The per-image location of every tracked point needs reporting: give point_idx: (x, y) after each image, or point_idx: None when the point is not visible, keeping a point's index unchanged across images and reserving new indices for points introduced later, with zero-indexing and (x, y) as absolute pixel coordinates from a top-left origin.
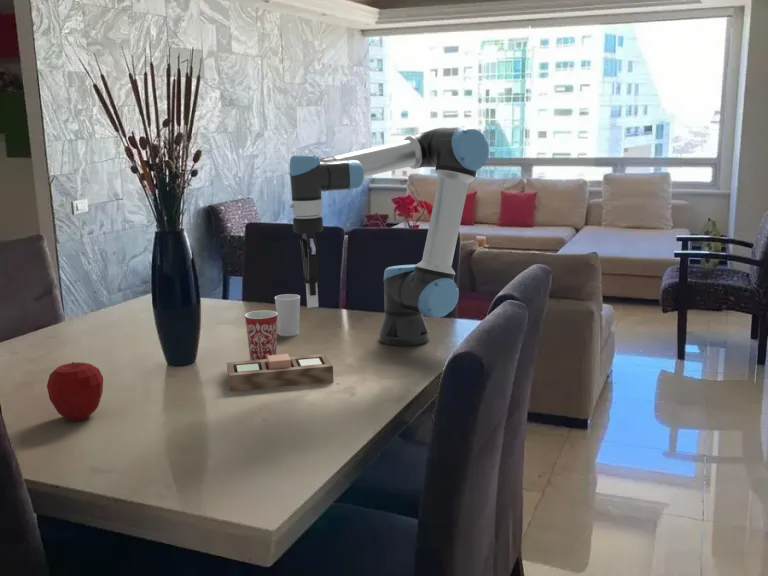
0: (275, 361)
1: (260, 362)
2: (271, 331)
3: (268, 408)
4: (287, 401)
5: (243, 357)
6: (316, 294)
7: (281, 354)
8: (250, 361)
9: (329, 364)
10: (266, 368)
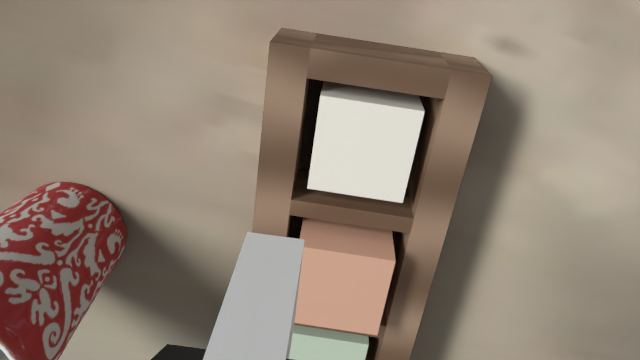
0: (381, 314)
1: None
2: (50, 290)
3: (601, 334)
4: (579, 273)
5: None
6: (286, 345)
7: None
8: None
9: (459, 83)
10: None
